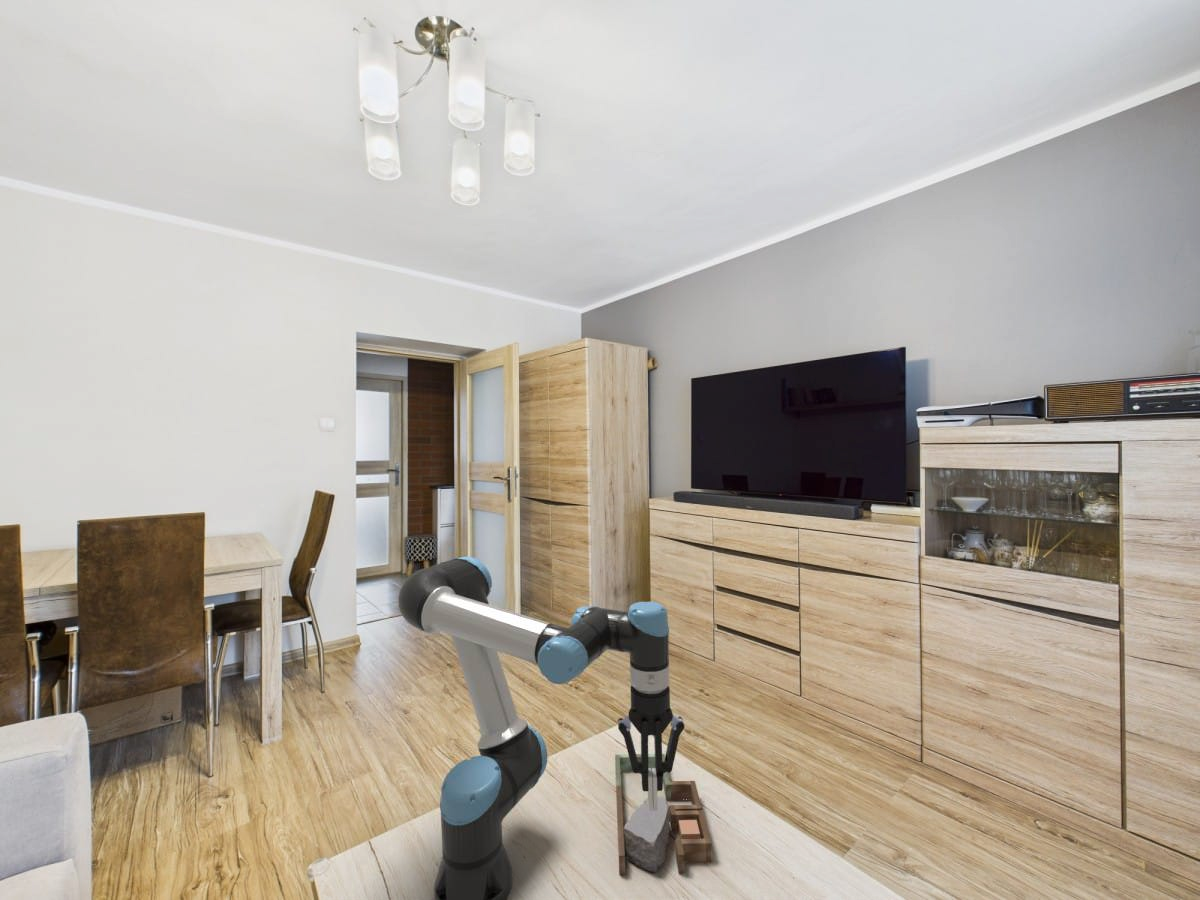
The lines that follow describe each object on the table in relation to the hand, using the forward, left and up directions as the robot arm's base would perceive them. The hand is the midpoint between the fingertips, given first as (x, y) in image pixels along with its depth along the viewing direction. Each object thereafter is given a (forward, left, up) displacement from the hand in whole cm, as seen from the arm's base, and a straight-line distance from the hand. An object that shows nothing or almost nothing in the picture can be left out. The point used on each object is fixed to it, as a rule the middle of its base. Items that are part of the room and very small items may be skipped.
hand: (652, 805), depth 98 cm
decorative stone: (0, +13, -19) cm, 22 cm away
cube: (+9, +13, -19) cm, 24 cm away
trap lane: (+3, +22, -18) cm, 29 cm away
